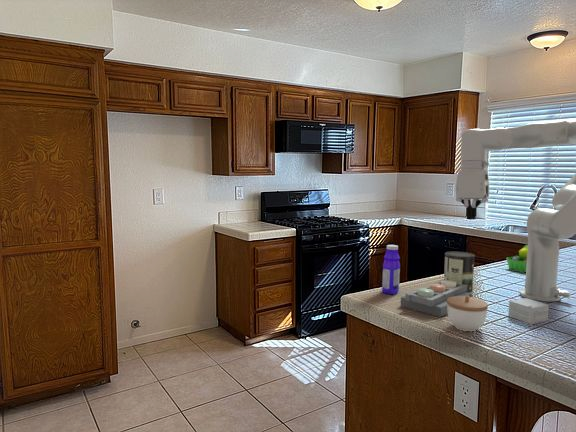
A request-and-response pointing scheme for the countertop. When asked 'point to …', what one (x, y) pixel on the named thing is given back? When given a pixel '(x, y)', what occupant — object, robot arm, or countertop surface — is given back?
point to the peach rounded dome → (437, 288)
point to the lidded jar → (466, 312)
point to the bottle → (391, 270)
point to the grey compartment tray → (433, 299)
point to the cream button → (448, 283)
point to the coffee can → (460, 268)
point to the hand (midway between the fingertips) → (471, 218)
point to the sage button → (425, 292)
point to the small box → (528, 310)
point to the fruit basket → (519, 260)
